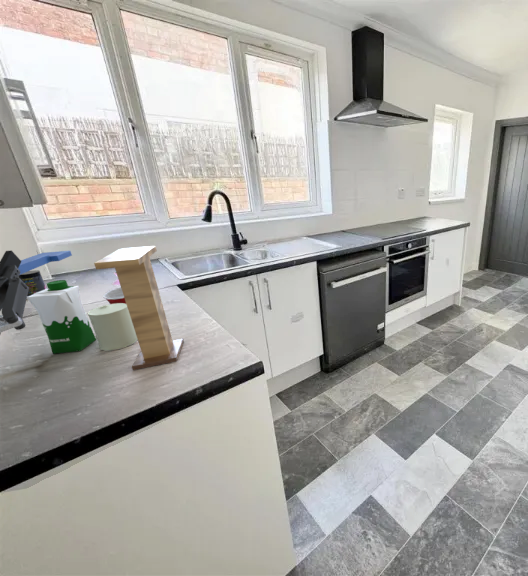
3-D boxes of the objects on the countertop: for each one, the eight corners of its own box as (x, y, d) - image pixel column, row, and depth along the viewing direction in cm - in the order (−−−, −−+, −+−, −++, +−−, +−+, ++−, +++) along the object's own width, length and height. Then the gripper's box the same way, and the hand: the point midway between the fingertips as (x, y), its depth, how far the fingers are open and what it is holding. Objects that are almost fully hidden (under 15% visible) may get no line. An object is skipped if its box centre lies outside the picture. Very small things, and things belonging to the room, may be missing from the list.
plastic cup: (105, 330, 103) (93, 297, 99) (125, 317, 113) (115, 286, 109) (141, 327, 105) (130, 294, 101) (157, 314, 115) (149, 284, 111)
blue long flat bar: (-4, 288, 50) (-9, 278, 50) (-48, 292, 48) (-53, 283, 48) (72, 255, 73) (69, 248, 72) (44, 257, 71) (41, 251, 70)
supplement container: (49, 294, 139) (40, 271, 135) (27, 298, 134) (17, 275, 130) (47, 291, 143) (38, 269, 139) (25, 295, 138) (16, 273, 134)
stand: (174, 369, 81) (142, 258, 71) (127, 378, 78) (88, 263, 68) (184, 340, 96) (159, 245, 86) (145, 347, 92) (115, 248, 82)
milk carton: (101, 338, 98) (80, 278, 92) (81, 352, 90) (56, 288, 83) (69, 341, 97) (45, 280, 90) (45, 356, 88) (17, 290, 82)
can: (128, 333, 101) (117, 299, 97) (144, 339, 97) (133, 304, 93) (93, 346, 93) (80, 310, 89) (109, 353, 89) (96, 316, 85)
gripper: (-121, 399, 42) (-43, 277, 56) (32, 371, 48) (69, 266, 61) (-185, 373, 36) (-80, 245, 50) (-3, 345, 42) (46, 237, 56)
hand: (2, 257), depth 56 cm, fingers closed on blue long flat bar, 2 cm apart
